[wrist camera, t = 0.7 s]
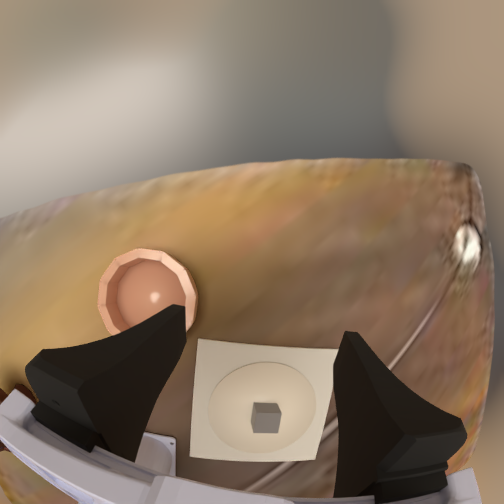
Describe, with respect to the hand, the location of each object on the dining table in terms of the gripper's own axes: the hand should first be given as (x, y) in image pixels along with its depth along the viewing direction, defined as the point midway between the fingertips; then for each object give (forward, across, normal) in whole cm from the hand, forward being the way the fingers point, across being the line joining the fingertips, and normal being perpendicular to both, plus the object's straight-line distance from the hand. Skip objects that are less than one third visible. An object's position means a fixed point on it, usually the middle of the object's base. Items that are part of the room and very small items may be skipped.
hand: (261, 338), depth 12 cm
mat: (+13, -1, +23) cm, 26 cm away
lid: (+13, -2, +22) cm, 26 cm away
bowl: (+16, +14, +10) cm, 24 cm away
